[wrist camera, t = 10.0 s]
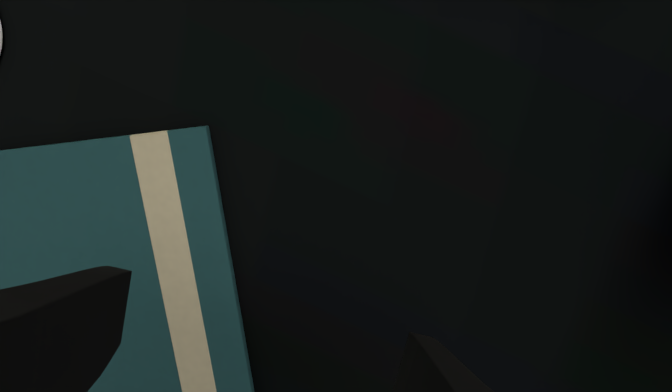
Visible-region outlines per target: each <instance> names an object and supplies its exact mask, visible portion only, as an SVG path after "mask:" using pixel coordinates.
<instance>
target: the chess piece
mask: <svg viewBox="0 0 672 392" xmlns="http://www.w3.org/2000/svg"><path fill="white" fill-rule="evenodd" d="M2 41H3V34H2V25H1V21H0V54H1V49H2Z"/></svg>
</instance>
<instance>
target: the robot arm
mask: <svg viewBox="0 0 672 392" xmlns="http://www.w3.org/2000/svg"><path fill="white" fill-rule="evenodd" d="M131 275H132V271H130V270H126V269H121V268H117V267H112V266H100V267H94V268H90V269H85V270H81V271H77V272H73V273H69V274H65V275H61V276H57V277H53V278H49V279H45V280H41V281H37V282H32V283H28V284H23V285H19V286H14V287H9V288H5V289H0V392H88V390H89V389H90V388H91V387H92V386H93V384H94V383H95V382H96V381H97V380H98V378H99V377H100V376H101V374H102V373H103V371H104V370H105V368H106V367H107V365H108V364H109V362H110V361H111V359H112V357H113V356H114V354H115V352H116V351H117V349H118V347H119V346H120V344H121V339H122V333H123V326H124V320H125V313H126V307H127V300H128V294H129V288H130V281H131ZM392 392H494V391H492V390H491V389H490V388H489V387H488V386H486V385H485V384H484V383H483V382H482V381H481V380H480V379H479V378H477V377H476V376H475V375H474V374H473V373H472V372H471V371H470V370H469V369H468V368H467V367H466V366H465V365H463V364H462V363H461V362H460V361H459V360H458V359H457V358H456V357H455V356H454V355H453V354H452V353H451V352H450V351H449V350H448V349H446V348H445V347H444V346H443V345H442V344H441V343H440V342H438V341H437V340H436V339H434V338H433V337H429V336H424V335H420V334H415V333H411V332H410V333H409V336H408V339H407V343H406V346H405V350H404V353H403V357H402V360H401V363H400V367H399V370H398V374H397V377H396V381H395V384H394V388H393V391H392Z"/></svg>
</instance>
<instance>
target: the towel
mask: <svg viewBox="0 0 672 392" xmlns="http://www.w3.org/2000/svg"><path fill="white" fill-rule="evenodd" d="M100 266H112V267H117V268H121V269H126V270H130V271H132V275H131V281H130V288H129V294H128V300H127V307H126V313H125V320H124V326H123V333H122V339H121V344H120V346H119V347H118V349H117V351H116V352H115V354H114V356H113V357H112V359H111V361H110V362H109V364H108V365H107V367H106V368H105V370H104V371H103V373H102V374H101V376H100V377H99V378H98V380H97V381H96V382H95V383H94V384H93V386H92V387H91V388H90V389H89V390H88V392H254V386H253V380H252V374H251V369H250V363H249V357H248V351H247V345H246V339H245V334H244V328H243V322H242V316H241V310H240V305H239V299H238V293H237V287H236V281H235V275H234V270H233V264H232V258H231V252H230V246H229V240H228V235H227V229H226V223H225V217H224V211H223V206H222V200H221V194H220V188H219V182H218V176H217V171H216V165H215V159H214V153H213V147H212V141H211V136H210V130H209V126H199V127H191V128H183V129H175V130H166V131H158V132H150V133H141V134H133V135H125V136H116V137H108V138H100V139H91V140H83V141H75V142H66V143H58V144H50V145H41V146H33V147H25V148H16V149H8V150H0V289H5V288H9V287H14V286H19V285H23V284H28V283H32V282H37V281H41V280H45V279H49V278H53V277H57V276H61V275H65V274H69V273H73V272H77V271H81V270H85V269H90V268H94V267H100Z"/></svg>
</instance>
